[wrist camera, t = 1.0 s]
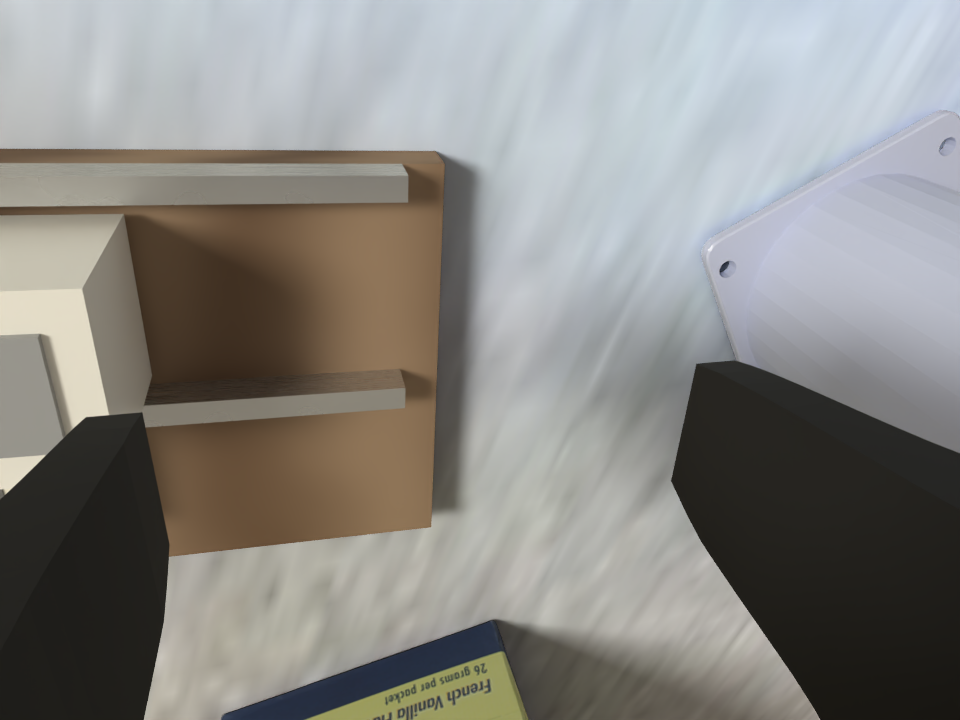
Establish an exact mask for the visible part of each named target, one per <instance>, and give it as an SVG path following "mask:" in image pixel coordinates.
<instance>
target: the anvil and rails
mask: <svg viewBox="0 0 960 720" xmlns="http://www.w3.org/2000/svg"><path fill="white" fill-rule="evenodd" d="M313 203H408V174H407V172H406V170H405V168H404V167H403V165H402V164H225V163H0V207H28V206H123V205H218V204H313ZM400 408H405V385H404V381H403V378H402V374H401V371H400V369H386V370H370V371H354V372H338V373H322V374H306V375H290V376H274V377H258V378H242V379H225V380H209V381H193V382H177V383H161V384H150V385H149V388H148V392H147V395H146V399H145V402H144V406H143V409H142V413H143V418H144V423H145V427H158V426H172V425H185V424H199V423H212V422H225V421H239V420H252V419H266V418H279V417H293V416H306V415H319V414H333V413H346V412H360V411H373V410H387V409H400Z"/></svg>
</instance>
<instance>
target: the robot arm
mask: <svg viewBox="0 0 960 720" xmlns="http://www.w3.org/2000/svg"><path fill="white" fill-rule="evenodd" d="M944 140H945V144H944V146H943V148H942V149H941V150H940V151H939V149H940V145H941V144H942V142H943V141H944ZM701 258H702V262H703V265H704V268H705V271H706V274H707V276H708V279H709V282H710V285H711V288H712V291H713V294H714V297H715V300H716V303H717V306H718V308H719V311H720V314H721V317H722V320H723V323H724V326H725V329H726V332H727V335H728V338H729V341H730V343H731V346H732V349H733V352H734V355H735V358H736V361H724V362H713V363H702V364H696V369H695V373H694V378H693V383H692V387H691V392H690V397H689V401H688V406H687V410H686V415H685V420H684V424H683V429H682V433H681V438H680V443H679V447H678V452H677V456H676V461H675V466H674V470H673V475H672V479H671V482H672V484H673V486H674V488H675V490H676V492H677V494H678V496H679V499H680V501H681V503H682V505H683V507H684V509H685V511H686V513H687V515H688V517H689V519H690V521H691V523H692V525H693V527H694V529H695V531H696V533H697V534H698V536H699V538H700V540H701V542H702V543H703V545H704V546H705V548H706V550H707V551H708V553H709V554H710V556H711V557H712V559H713V560H714V562H715V563H716V564H717V566H718V567H719V569H720V570H721V572H722V573H723V575H724V576H725V578H726V579H727V581H728V582H729V584H730V585H731V587H732V588H733V589H734V591H735V592H736V594H737V595H738V597H739V598H740V600H741V601H742V602H743V604H744V605H745V607H746V608H747V610H748V611H749V613H750V614H751V615H752V617H753V618H754V620H755V621H756V623H757V624H758V625H759V627H760V628H761V630H762V631H763V633H764V634H765V636H766V637H767V638H768V640H769V641H770V643H771V644H772V646H773V647H774V648H775V650H776V651H777V653H778V654H779V656H780V657H781V659H782V660H783V661H784V663H785V664H786V666H787V667H788V669H789V670H790V672H791V673H792V674H793V676H794V677H795V679H796V681H797V682H798V684H799V685H800V687H801V688H802V690H803V692H804V693H805V695H806V696H807V698H808V699H809V701H810V703H811V704H812V706H813V707H814V709H815V711H816V712H817V714H818V716H819V718H820V720H960V118H959V116H958V115H957V114H956V113H954V112H950V111H946V110H939V111H937V112H934V113H932V114H930V115H929V116H927V117H925V118H923V119H922V120H920V121H918V122H916V123H914V124H913V125H911V126H909V127H907V128H905V129H904V130H902V131H900V132H898V133H897V134H895V135H893V136H891V137H889V138H888V139H886V140H884V141H882V142H881V143H879V144H877V145H875V146H873V147H872V148H870V149H868V150H866V151H864V152H863V153H861V154H859V155H857V156H856V157H854V158H852V159H850V160H848V161H847V162H845V163H843V164H841V165H839V166H838V167H836V168H834V169H832V170H831V171H829V172H827V173H825V174H823V175H822V176H820V177H818V178H816V179H814V180H813V181H811V182H809V183H807V184H806V185H804V186H802V187H800V188H798V189H797V190H795V191H793V192H791V193H790V194H788V195H786V196H784V197H782V198H781V199H779V200H777V201H775V202H773V203H772V204H770V205H768V206H766V207H765V208H763V209H761V210H759V211H757V212H756V213H754V214H752V215H750V216H748V217H747V218H745V219H743V220H741V221H740V222H738V223H736V224H734V225H732V226H731V227H729V228H727V229H725V230H723V231H722V232H720V233H718V234H716V235H715V236H713V237H711V238H710V239H709V240H708V241H707V242H706V243H705V245H704V246H703V248H702V252H701ZM727 261H729V265H728V267H727V269H726V270H724V271H723V272H720V273H719V270H720V267H721V265H722V264H724V263H725V262H727ZM169 546H170V544H169V539H168V534H167V529H166V525H165V520H164V515H163V510H162V505H161V500H160V495H159V491H158V486H157V481H156V476H155V471H154V466H153V461H152V457H151V452H150V447H149V442H148V437H147V432H146V428H145V423H144V418H143V413H142V412H140V413H128V414H117V415H105V416H94V417H85V418H84V419H83V420H82V421H81V422H80V423H79V424H78V425H77V426H75V427H74V428H73V429H72V430H71V431H70V432H69V433H68V434H67V435H66V436H65V437H64V438H63V439H62V440H61V441H60V442H59V443H58V444H57V445H56V446H55V447H54V448H53V449H52V450H51V451H50V452H49V453H48V454H47V455H46V456H45V457H44V458H43V459H42V460H41V461H40V462H39V463H38V464H37V465H36V466H35V467H34V468H33V469H32V470H30V471H29V472H28V473H27V474H26V475H25V476H24V477H23V478H22V479H21V480H20V481H19V482H18V483H17V484H16V485H15V486H14V487H13V488H12V489H11V490H10V491H9V492H8V493H6V494H5V495H4V496H3V497H2V498H1V499H0V720H144V715H145V710H146V706H147V701H148V696H149V691H150V687H151V682H152V677H153V672H154V667H155V662H156V658H157V653H158V648H159V643H160V638H161V633H162V628H163V623H164V613H165V601H166V590H167V576H168V561H169Z"/></svg>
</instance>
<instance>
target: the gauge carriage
mask: <svg viewBox="0 0 960 720" xmlns="http://www.w3.org/2000/svg"><path fill="white" fill-rule="evenodd" d="M151 378H152V372H151V366H150V361H149V355H148V349H147V344H146V338H145V332H144V326H143V321H142V315H141V309H140V304H139V298H138V292H137V286H136V281H135V275H134V269H133V264H132V258H131V252H130V246H129V241H128V235H127V229H126V224H125V218H124V214H74V215H0V489H12V488H13V487H14V486H15V485H16V484H17V483H18V482H19V481H20V480H21V479H22V478H23V477H24V476H25V475H26V474H27V473H28V472H29V471H30V470H32V469H33V468H34V467H35V466H36V465H37V464H38V463H39V462H40V461H41V460H42V459H43V458H44V457H45V456H46V455H47V454H48V453H49V452H50V451H51V450H52V449H53V448H54V447H55V446H56V445H57V444H58V443H59V442H60V441H61V440H62V439H63V438H64V437H65V436H66V435H67V434H68V433H69V432H70V431H71V430H72V429H73V428H74V427H75V426H77V425H78V424H79V423H80V422H81V421H82V420H83V419H84V418H85V417H94V416H105V415H117V414H128V413H140V412H142V409H143V406H144V402H145V399H146V395H147V392H148V388H149V385H150V382H151Z"/></svg>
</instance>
